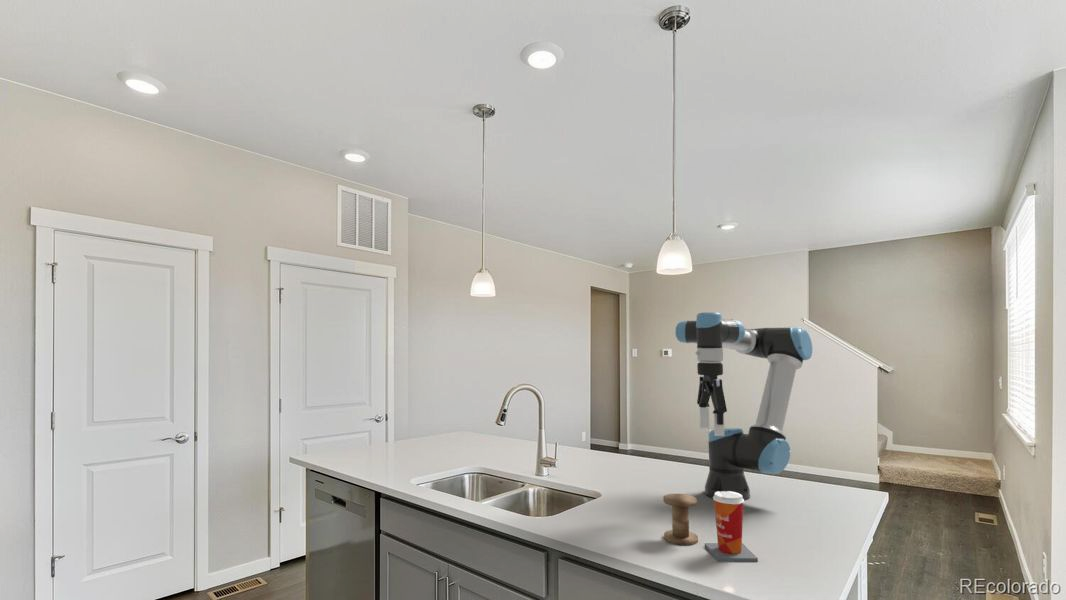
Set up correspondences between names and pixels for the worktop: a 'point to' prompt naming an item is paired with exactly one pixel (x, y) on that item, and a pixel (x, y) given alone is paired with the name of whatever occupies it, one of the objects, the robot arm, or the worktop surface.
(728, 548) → the paper cup
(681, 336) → the robot arm
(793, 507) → the worktop surface
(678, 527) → the bobbin
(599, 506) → the worktop surface
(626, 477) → the worktop surface
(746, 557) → the grey square tile
